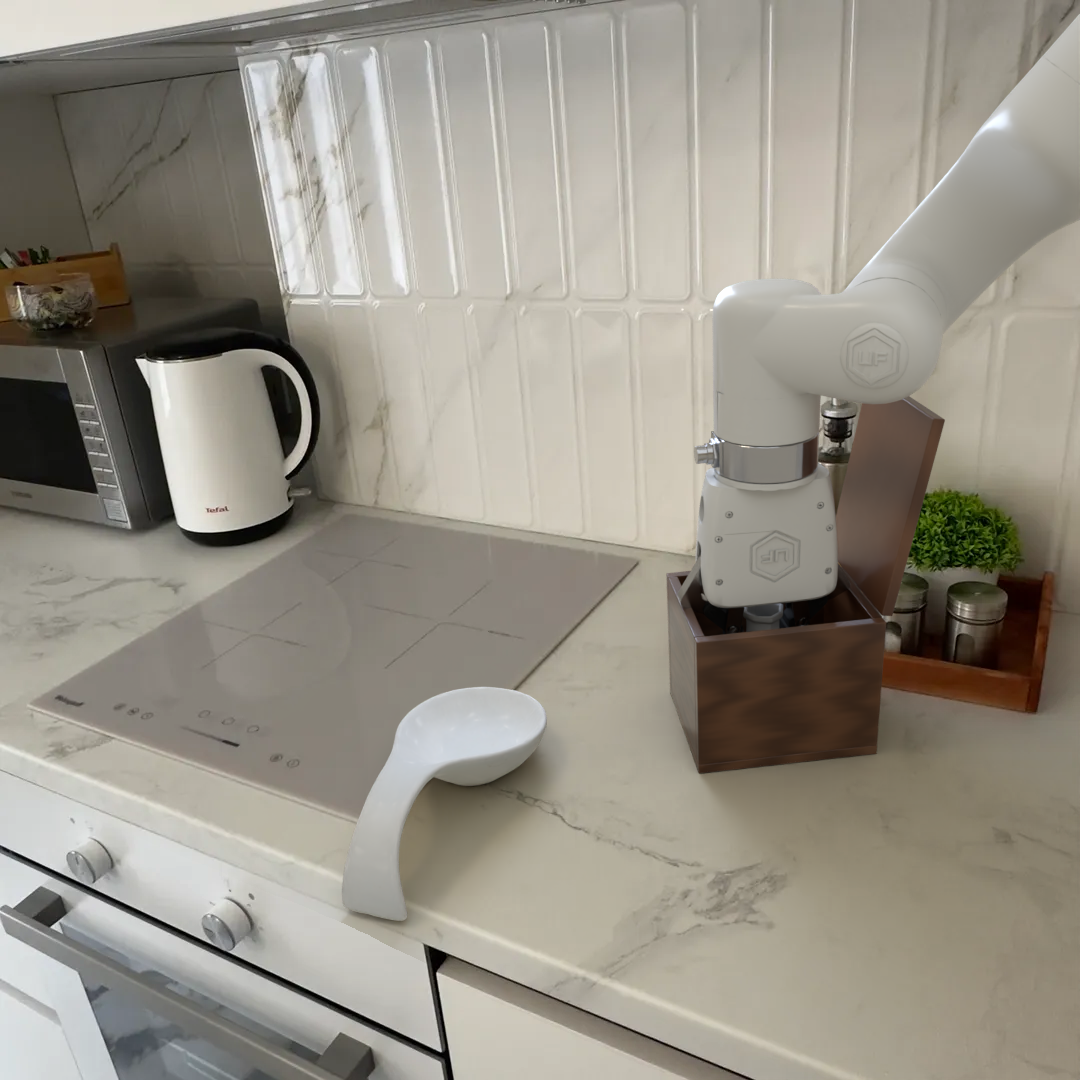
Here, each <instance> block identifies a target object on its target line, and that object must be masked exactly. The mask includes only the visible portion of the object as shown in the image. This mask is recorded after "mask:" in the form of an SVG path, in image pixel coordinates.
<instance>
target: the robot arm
mask: <svg viewBox="0 0 1080 1080" xmlns="http://www.w3.org/2000/svg"><path fill="white" fill-rule="evenodd" d="M1079 221H1080V13H1079V14H1078V15H1077V16H1076V17H1075V18H1074V19H1073V21H1072V22H1071V23H1070V24H1069V25H1068V26H1067V27H1066V28H1065V29H1064V30H1063V32H1062V33H1061V34H1060V35H1059V37H1057V39H1056V40H1055V41H1054V42H1053V44H1052V45H1051V46H1050V47H1049V48H1047V50H1046V51H1045V53H1044V54H1043V55H1042V56H1040V58H1039V60H1037V62H1036V63H1035V64H1034V65H1033V66H1032V67H1031V69H1029V71H1028V72H1027V73H1026V74H1025V75H1024V76H1023V77H1022V78H1021V80H1019V82H1018V83H1017V84H1016V85H1015V86H1014V88H1012V89H1011V91H1010V92H1009V93H1008V94H1007V95H1006V96H1005V97H1004V99H1003V100H1002V101H1001V102H1000V103H999V104H998V106H997V107H996V108H995V109H994V111H993V112H992V113H991V114H990V116H989V117H988V118H987V119H986V120H985V121H984V123H983V124H982V125H981V126H980V128H979V129H978V130H977V132H976V133H975V134H974V135H973V137H972V139H971V140H970V142H969V143H968V145H967V146H966V148H965V150H964V151H963V152H962V153H961V155H960V156H959V158H958V159H957V160H956V161H955V163H953V165H952V166H951V168H950V169H949V170H948V171H947V172H946V173H945V174H944V176H943V177H942V178H941V179H940V181H938V183H937V184H936V185H935V186H934V188H933V189H931V191H930V192H929V193H928V194H927V195H926V196H925V198H923V200H922V201H921V202H920V203H919V205H917V207H916V208H915V209H914V210H913V211H912V212H911V213H910V214H909V215H908V217H907V218H906V219H905V220H904V221H903V222H902V224H901V225H899V227H898V228H897V229H896V230H895V231H894V233H892V235H891V236H890V237H889V238H888V240H887V241H886V242H885V243H884V244H883V245H882V246H881V248H879V250H878V251H877V252H876V253H875V254H874V255H873V256H872V258H871V259H870V260H869V261H868V262H867V263H866V264H865V265H864V266H863V267H862V269H861V270H860V271H859V272H858V273H857V274H856V275H855V277H854V278H853V279H852V280H851V281H850V283H848V285H847V287H846V288H845V289H843V291H841V292H839V293H838V292H837V293H828V294H821V292H820V290H819V289H818V288H817V286H815V285H813V284H812V283H810V282H807V281H804V280H799V279H794V278H793V279H792V278H760V279H751V280H744V281H740V282H736V283H733V284H730V285H728V286H726V287H724V288H723V289H722V290H721V291H720V292H718V294H717V296H716V298H715V300H714V302H713V307H712V406H713V407H712V409H713V410H712V411H713V413H712V414H713V416H712V417H713V430H711V431H710V438H709V439H708V442H705V443H703V445H702V444H701V445H694V446H693V447H694V448H693V457H694V461H695V464H696V465H699V464H700V465H701V464H705V465H706V466H708V465H710V466H711V467H710V468H708V469H707V470H706V471H705V475H704V478H703V484H702V488H701V494H700V501H699V507H698V514H697V515H698V516H697V527H696V538H695V539H696V540H695V563H694V565H693V566H692V568H691V569H690V570H689V571H690V573H689V575H688V576H687V578H686V580H685V581H684V583H683V585H682V587H681V588H680V590H679V592H678V594H677V597H678V599H679V602H680V604H681V606H683V607H685V608H692V610H693V611H694V612H697V613H699V614H700V613H701V614H703V615H705V616H706V617H707V618H708V619H710V620H711V621H712V622H713V623H715V624H716V625H717V626H719V627H720V628H721V629H723V634H733V633H742V632H744V630H743V626H742V619H743V613H744V607H750V606H760V605H770V604H779V603H784V605H785V610H784V611H783V616H782V618H781V619H779V628H788V627H798V626H807V625H810V619H811V618H812V617H813V616H814V615H815V614H816V613H817V612H818V611H819V610H820V609H821V608H822V607H823V606H824V605H825V604H826V603H827V601H828V600H829V599H833V598H835V597H836V596H838V595H839V594H841V593H843V592H844V591H846V590H847V589H849V587H850V585H851V583H850V581H849V579H848V578H847V576H846V575H845V573H844V571H845V570H844V569H843V568H841V567H842V566H841V565H840V564H839V563H838V545H837V527H836V514H837V513H836V505H835V497H834V489H833V483H832V478H831V473H830V470H829V469H828V468H827V467H826V466H824V465H823V464H821V463H820V462H819V453H820V452H819V451H820V450H819V449H820V428H821V427H820V422H821V420H820V419H821V400H822V399H821V397H827V398H831V399H834V400H835V399H836V400H840V401H846V402H852V403H857V404H862V403H864V404H886V403H891V402H895V401H899V400H902V399H904V398H906V397H908V396H910V397H911V396H912V395H913V394H915V393H916V392H917V391H919V390H920V389H921V388H922V387H923V386H925V384H926V383H927V382H928V381H929V379H930V378H931V376H932V375H933V373H934V371H935V369H936V367H937V364H938V362H939V359H940V354H941V349H942V345H943V337H944V334H945V333H946V332H947V331H948V330H949V329H950V328H951V326H952V325H953V324H954V323H955V322H956V321H957V320H959V318H960V317H961V316H962V315H963V314H964V313H965V312H966V311H967V310H968V309H969V307H971V306H972V304H973V303H974V302H975V301H976V300H978V298H979V297H981V295H982V294H983V293H984V292H985V291H986V290H988V288H990V286H991V285H992V284H993V283H994V282H995V281H996V280H998V279H999V277H1000V276H1002V275H1003V274H1004V273H1005V272H1006V271H1007V270H1008V269H1009V268H1010V267H1011V266H1013V265H1014V264H1015V263H1016V262H1017V261H1018V260H1019V259H1020V258H1021V257H1022V256H1024V255H1025V254H1026V253H1028V252H1029V251H1030V250H1031V249H1032V248H1034V246H1036V245H1037V244H1039V243H1040V242H1041V241H1043V240H1045V239H1046V238H1047V237H1049V236H1050V235H1052V234H1055V233H1056V232H1057V231H1060V230H1062V229H1063V228H1066V227H1068V226H1070V225H1072V224H1075V223H1076V222H1079ZM840 566H841V567H840ZM842 569H843V570H844V571H843V570H842ZM703 590H704V594H705V595H704V594H702V591H703Z"/></svg>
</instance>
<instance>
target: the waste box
mask: <svg viewBox="0 0 1080 1080" xmlns="http://www.w3.org/2000/svg"><path fill="white" fill-rule="evenodd" d="M840 567H841V568H842V566H841V565H840ZM842 570H843V571H844V573H845V575H846V576H847V578H848V579H849V581H850V583H851V585H850V587H849V589H847V590H846V591H844V592H843V593H841V594H839V595H838V596H836V597H835V598H833V599H829V600H828V601H827V603H826V604H825V605H824V606H823V607H822V608H821V609H820V610H819V611H818V612H817V613H816V614H815V615H814V616H813V617H812V618H811V619H810V625H807V626H798V627H788V628H779V629H770V630H761V631H751V632H746V628H747V621H746V618H744V617H743V619H742V626H743V630H744V632H742V633H733V634H723V629H721V628H720V627H719V626H717V625H716V624H715V623H713V622H712V621H711V620H710V619H708V618H707V617H706V616H705V615H703V614H701V613H700V614H699V613H697V612H694V611H693V610H692V608H685V607H683V606H681V604H680V602H679V599H678V597H677V594H678V592H679V590H680V588H681V587H682V585H683V583H684V581H685V580H686V578H687V576H688V575H689V573H690V571H691V570H685V571H683V570H682V571H675V572H666V574H665V575H666V604H667V605H666V607H667V635H668V637H667V639H668V666H669V667H668V668H669V669H668V671H669V693H670V696H671V699H672V702H673V704H674V708H675V710H676V713H677V715H678V719H679V722H680V724H681V727H682V730H683V733H684V736H685V738H686V741H687V744H688V748H689V750H690V753H691V755H692V756H691V757H692V758H693V761H694V764H695V767H696V770H697V772H698V774H705V773H706V774H707V773H717V772H726V771H733V770H743V769H751V768H759V767H761V768H762V767H769V766H778V765H785V764H797V763H804V762H814V761H822V760H831V759H841V758H849V757H859V756H868V755H875V754H877V753H878V739H879V738H878V737H879V724H880V711H881V697H882V687H883V686H882V684H883V671H884V657H885V646H886V645H885V644H886V631H887V622H886V620H885V619H884V617H883V616H882V615H881V614H880V613H879V611H878V610H877V609H876V608H875V607H874V605H873V604H872V603H871V602H870V600H869V599H868V598H867V597H866V596H865V594H864V593H863V592H862V591H861V589H860V588H859V587H858V586H857V585H856V583H855V582H854V581H853V580H852V579H851V577H850V576H849V575H848V574H847V572H846V571H845V570H844V569H843V568H842ZM702 594H704V590H703V591H702ZM704 595H705V594H704ZM781 604H783V611H784V610H785V605H784V603H781Z"/></svg>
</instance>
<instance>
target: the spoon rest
mask: <svg viewBox="0 0 1080 1080" xmlns="http://www.w3.org/2000/svg"><path fill="white" fill-rule="evenodd" d="M547 716H548V715H547V711H546V710H545V708H544V706H543V705H542V704H541V703H540V701H538V700H537V699H536V698H534V697H532V696H531V695H529V694H527V693H524V692H521V691H518V690H515V689H508V688H503V687H494V686H493V687H492V686H474V687H473V686H472V687H465V688H458V689H452V690H449V691H446V692H441V693H439V694H437V695H435V696H432V697H430V698H428V699H425V700H424V701H422V702H421V703H419V704H417V705H416V706H414V707H413V708H412V709H411V710H409V711H408V712H407V713H406V715H404V717H403V718H402V720H401V721H400V722H399V724H398V726H397V728H396V730H395V735H394V739H393V744H392V748H391V752H390V754H389V756H388V758H387V760H386V762H385V764H384V765H383V767H382V768H381V770H380V772H379V774H378V775H377V777H376V779H375V780H374V782H373V783H372V784H373V785H372V787H371V789H370V791H369V793H368V794H367V797H366V799H365V801H364V804H363V806H362V809H361V811H360V814H359V817H358V819H357V821H356V825H355V828H354V831H353V834H352V837H351V839H350V843H349V847H348V851H347V855H346V858H345V863H344V869H343V874H342V884H341V887H342V888H341V900H342V905H343V907H344V908H345V909H347V910H349V911H352V912H356V913H360V914H364V915H369V916H373V917H377V918H381V919H385V920H390V921H395V922H396V921H398V922H402V921H405V920H407V918H408V910H407V905H406V901H405V900H406V899H405V896H404V892H403V891H404V890H403V885H402V881H401V880H402V879H401V873H400V846H401V839H402V834H403V832H404V831H403V830H404V827H405V824H406V821H407V818H408V816H409V814H410V812H411V809H412V808H413V805H414V803H415V802H416V800H417V797H418V796H419V794H420V793H421V791H422V790H423V789H424V787H425V786H426V785H427V783H429V782H430V781H431V780H432V779H434V778H435V779H438V780H440V781H444V782H447V783H451V784H454V785H457V786H462V787H473V786H482V785H485V784H490V783H492V782H494V781H496V780H498V779H500V778H502V777H503V776H506V775H508V774H509V773H511V772H513V771H514V770H516V769H517V768H518V767H520V766H521V765H522V764H524V763H525V761H526V760H528V759H529V758H530V757H531V755H532V754H533V753H534V752H535V751H536V749H537V748H538V747H539V744H540V742H541V741H542V740H543V739H542V738H543V736H544V734H545V732H546V729H547V725H548V717H547Z"/></svg>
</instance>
